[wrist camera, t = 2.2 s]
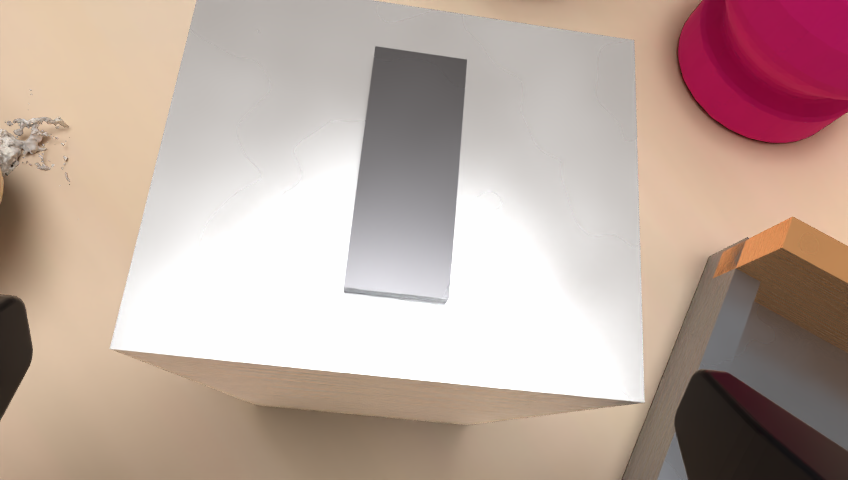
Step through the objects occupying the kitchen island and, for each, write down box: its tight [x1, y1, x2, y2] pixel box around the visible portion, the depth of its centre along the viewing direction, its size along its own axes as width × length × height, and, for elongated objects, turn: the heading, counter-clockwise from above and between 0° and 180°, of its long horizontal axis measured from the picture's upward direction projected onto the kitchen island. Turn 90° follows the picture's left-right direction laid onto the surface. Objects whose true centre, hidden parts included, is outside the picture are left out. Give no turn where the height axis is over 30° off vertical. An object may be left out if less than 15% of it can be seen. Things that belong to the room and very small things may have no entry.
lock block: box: [110, 0, 644, 425], centre depth 13 cm, size 5×6×11 cm
